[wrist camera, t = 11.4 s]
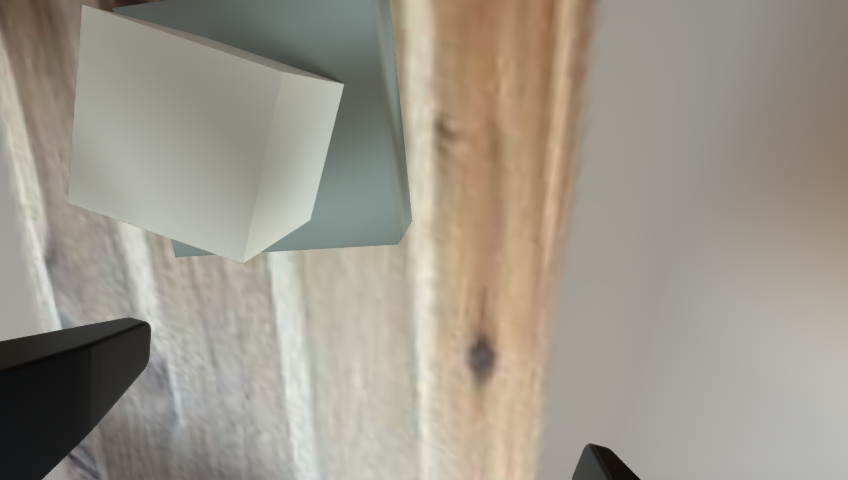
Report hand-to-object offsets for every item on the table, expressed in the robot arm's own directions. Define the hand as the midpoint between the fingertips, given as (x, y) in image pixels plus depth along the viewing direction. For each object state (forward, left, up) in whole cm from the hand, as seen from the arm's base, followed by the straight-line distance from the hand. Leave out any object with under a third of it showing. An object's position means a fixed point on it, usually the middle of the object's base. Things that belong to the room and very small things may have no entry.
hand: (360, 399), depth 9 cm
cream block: (+5, +5, -8) cm, 11 cm away
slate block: (+5, +5, -12) cm, 14 cm away
